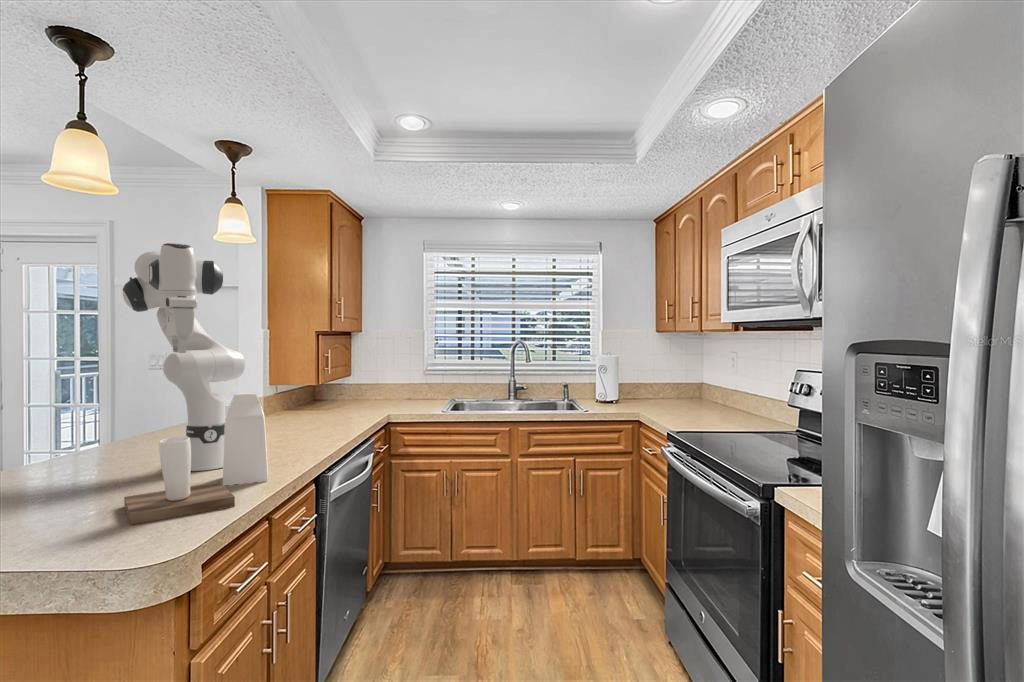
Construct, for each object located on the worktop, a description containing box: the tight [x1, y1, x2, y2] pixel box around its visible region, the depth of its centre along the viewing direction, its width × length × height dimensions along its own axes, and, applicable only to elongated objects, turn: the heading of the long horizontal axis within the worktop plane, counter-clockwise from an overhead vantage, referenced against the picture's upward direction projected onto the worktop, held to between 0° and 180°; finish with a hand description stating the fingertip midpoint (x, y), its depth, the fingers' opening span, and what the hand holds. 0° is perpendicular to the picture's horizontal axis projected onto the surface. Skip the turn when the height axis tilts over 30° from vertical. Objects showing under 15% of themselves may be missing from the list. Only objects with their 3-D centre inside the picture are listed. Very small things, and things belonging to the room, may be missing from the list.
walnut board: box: [123, 481, 236, 526], centre depth 141 cm, size 18×22×2 cm
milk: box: [222, 392, 269, 487], centre depth 167 cm, size 12×12×26 cm
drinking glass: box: [158, 436, 192, 501], centre depth 139 cm, size 7×7×15 cm
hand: (179, 352), depth 151 cm, fingers open, 8 cm apart
